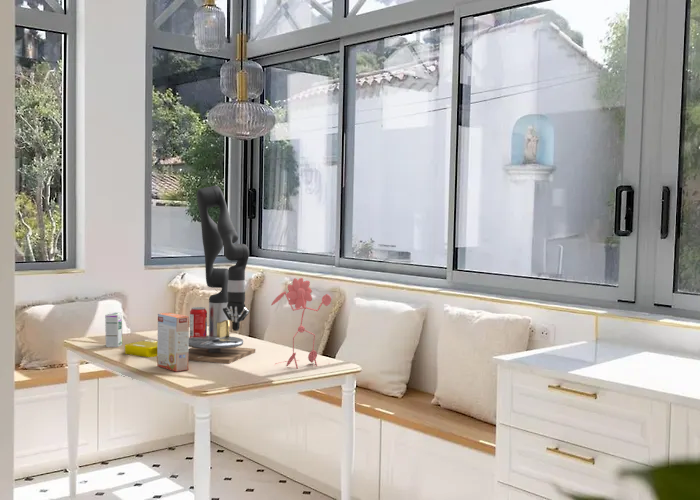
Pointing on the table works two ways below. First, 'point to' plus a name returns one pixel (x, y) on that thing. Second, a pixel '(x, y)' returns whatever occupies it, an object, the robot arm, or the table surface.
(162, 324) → the cracker box
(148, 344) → the element tile
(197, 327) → the soda can
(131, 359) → the table surface
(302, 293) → the figurine
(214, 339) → the handwheel
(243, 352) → the winch base
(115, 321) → the syrup box
